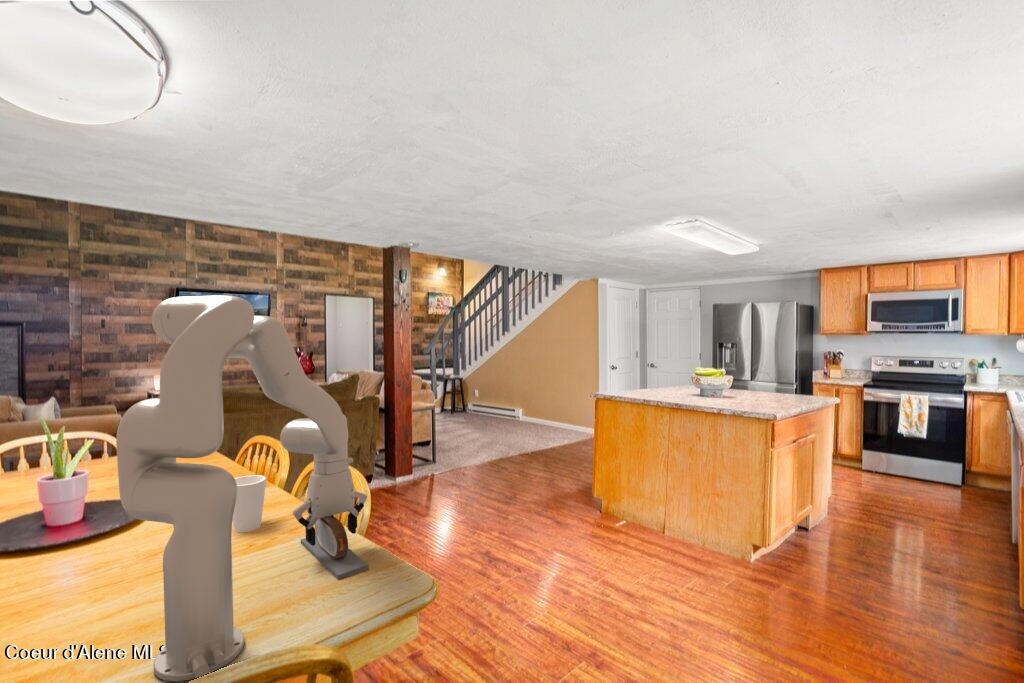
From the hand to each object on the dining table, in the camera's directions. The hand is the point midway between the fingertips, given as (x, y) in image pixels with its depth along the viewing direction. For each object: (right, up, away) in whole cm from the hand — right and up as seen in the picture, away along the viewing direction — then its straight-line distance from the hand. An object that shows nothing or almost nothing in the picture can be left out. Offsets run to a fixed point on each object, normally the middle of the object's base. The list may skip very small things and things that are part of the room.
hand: (332, 537), depth 116 cm
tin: (0, -4, 0) cm, 4 cm away
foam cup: (-29, -4, +17) cm, 34 cm away
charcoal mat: (0, -4, 0) cm, 4 cm away
